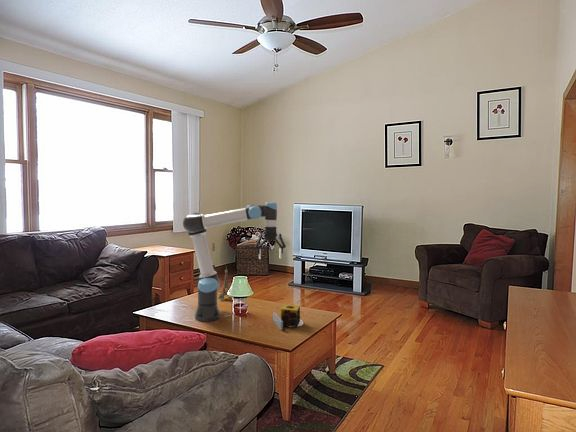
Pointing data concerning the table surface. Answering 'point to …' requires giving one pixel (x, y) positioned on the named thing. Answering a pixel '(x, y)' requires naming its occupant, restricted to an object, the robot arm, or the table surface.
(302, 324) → the coaster
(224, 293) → the eiffel tower
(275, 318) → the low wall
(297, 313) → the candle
